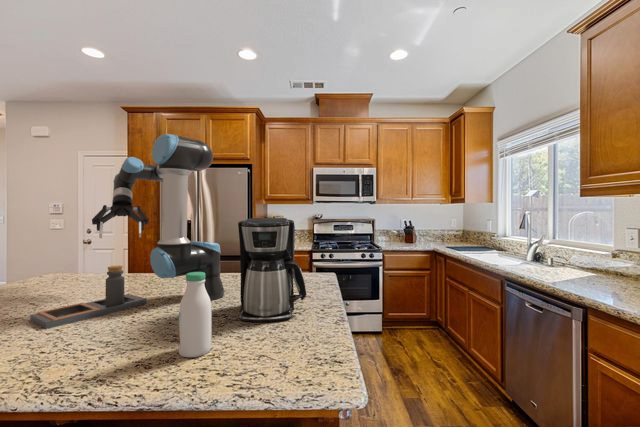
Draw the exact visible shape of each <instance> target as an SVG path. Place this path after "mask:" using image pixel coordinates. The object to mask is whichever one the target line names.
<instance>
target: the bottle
mask: <svg viewBox="0 0 640 427" xmlns="http://www.w3.org/2000/svg"><path fill="white" fill-rule="evenodd" d="M123 267H124V266H123V265H109V266H108V267H107V272H106V275H107V276H108V277H106V279H105V292H104V293H105V297H104V299H105V305H104V306H106V307H108V306H113V305H117V304H121V303H125V302H124V295H125V277H124V276H122V274H124V270H123Z"/></svg>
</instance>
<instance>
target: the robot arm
mask: <svg viewBox="0 0 640 427" xmlns="http://www.w3.org/2000/svg"><path fill="white" fill-rule="evenodd" d="M151 158H152V161H153V162H154V163H155V164H156V165H155V164H148V163H144V162H143V161H142V160H141V159H140V158H137V157H135V156H128V157H126V158H125V159H124V161H123V163H122V164H121V168H120V169H119V171H118V173H117V174H115V176H114V178H113V192H112V204H111V206H107V205H106V204H104V205H103V206H102V208H101V209H100V211H98V213H97V214H95V216H93V218H92V219H91V221H92V222H91V223H92V224H91V225H96V231H97V232H99V236H98V237H99V239H103V233H104V232H103V231H104V224H105V223H107V222H108V221H110V220H111V219H112V218H115V217H116V216H117V217H129V218H131V219H132V220H134V221H135V222H136V223H138V238H142V231H145V225H149V224H150V219H149V218H148V217H147V216H146V214H145V213H144V211H143V210H142V208H141V206H140V205H137V206H136V207H133V189H134V186H135V184H136V182H137V181H138V180H142V181H143V180H144V181H152V182H153V181H154V182H161V183H162V214H161V215H162V216H161V217H162V218H161V219H162V221H161V222H162V223H161V224H162V225H161V231H162V232H161V238H160V239H159V240H158V241H157V247H154V248H153V249H152V250H151V252H150V256H149V258H150V259H149V260H150V266H151V268H152V269H151V270H152V271H153V272H154V274H155V275H156V276H157V277H158V278H160V279H174V278H179V277H184V276H186V274H187V273H191V272H204V273H205V282H204V285H205V289H206V291H207V293H208V295H209V298H210V301H214V300H218V299H220V298H223V297H224V296H225V288H224V286H223V282H222V279H221V254H222V252H221V246H220V244H219V243H218V242H212V241H211V242H210V241H197V240H194V241H193V240H190V239H189V238H188V237H187V236H188V199H189V198H188V195H189V194H188V188H189V186H188V185H189V184H188V183H189V176H190V175H191V174H192V173H193V171H194V172H200V171H204V170H206V169H208V168H209V167H210V166H211V165H212V164H213V161H214V152H213V150H212V149H211V147H210V146H209V145H208V144H207V143H206V142H205V141H202V140H199V139H193V138H189V137H186V136H181V135H177V134H171V133H163V134H161V135H159V136H158V137H157V139H156V140H155V142H154V143H153V147H152V150H151ZM134 211H135V212H134ZM136 213H137V214H136Z"/></svg>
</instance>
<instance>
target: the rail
mask: <svg viewBox="0 0 640 427" xmlns="http://www.w3.org/2000/svg"><path fill="white" fill-rule="evenodd" d="M146 304H147V298H145V297H141V296H137V295H135V294H130V293H126V294H125V293H124V303H121V304H117V305H113V306H108V307H106V306H105V298H103V299H97V300H94V301H88V302H80V303H77V304H76V303H75V304H71V305H66V306H61V307H55V308H51V309H47V310H43V311H37V313H32V314H30V316H29V317H30V318H29V321H30V322H32V323H33V324H35V325H37V326H39V327H41V328H43V329H45V330H48V329H51V328H56V327H59V326H64V325H67V324H71V323H76V322H80V321H83V320H88V319H90V318H95V317H100V316H104V315H107V314H111V313H115V312H119V311H123V310H127V309H130V308H131V309H132V308H135V307H139V306H143V305H146ZM63 315H64V316H63Z"/></svg>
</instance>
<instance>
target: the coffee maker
mask: <svg viewBox="0 0 640 427" xmlns="http://www.w3.org/2000/svg"><path fill="white" fill-rule="evenodd" d="M237 224H238V225H237V227H238V228H237V229H238V238H239V255H240V256H239V259H240V260H239V261H240V262H239V263H240V295H239V296H240V311H239V312H240V314H239V315H238V318H239V319H240V320H241V321H243V322H252V323H253V322H256V323H257V322H259V323H261V322H263V323H264V322H277V321H283V320H288V319H290V318H291V317H292V316H293V311H295V302H296V301H297V300H299V299H300V300H301V301H303V300H304V299H305V298H306V297H307V287H306V282H305V277H304V274H303V271H302V268H301V267H300V264H299V263H297V262H295V254H296V253H295V242H296V241H295V240H296V239H295V236H296V226H295V221H294V220H292V219H288V218H286V217H254V218H253V217H252V218H247V219H245V220H239V222H238V223H237ZM294 284H295V286H296V289H297V291H298V294H294Z"/></svg>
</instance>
